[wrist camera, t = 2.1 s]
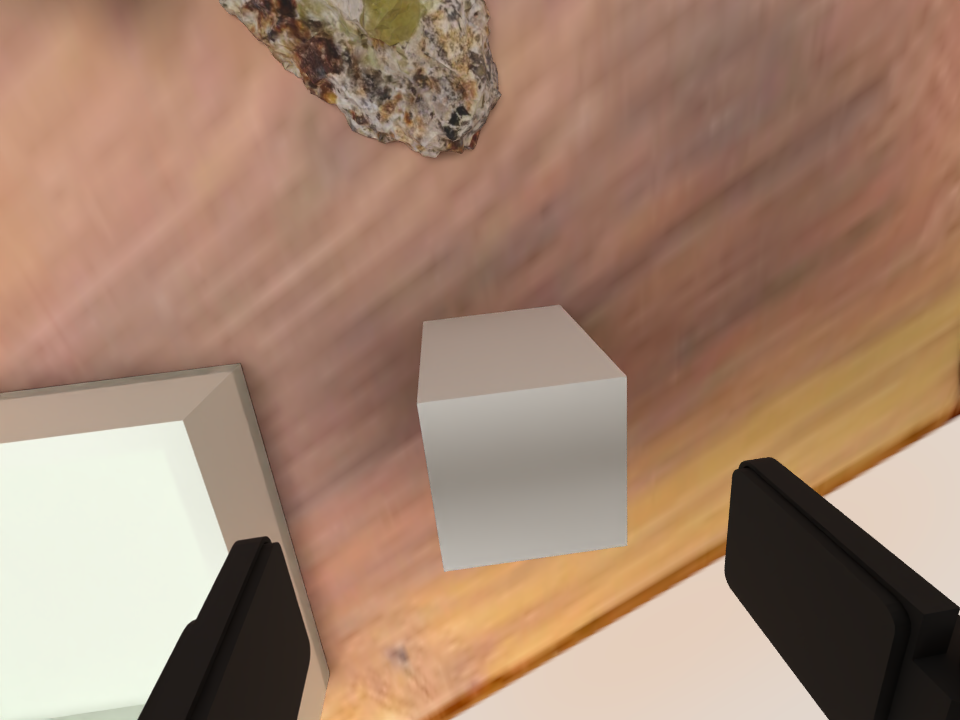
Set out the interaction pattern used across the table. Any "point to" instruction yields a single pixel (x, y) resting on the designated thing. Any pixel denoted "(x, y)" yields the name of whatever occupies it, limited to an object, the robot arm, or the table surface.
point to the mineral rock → (387, 63)
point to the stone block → (522, 437)
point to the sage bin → (125, 535)
